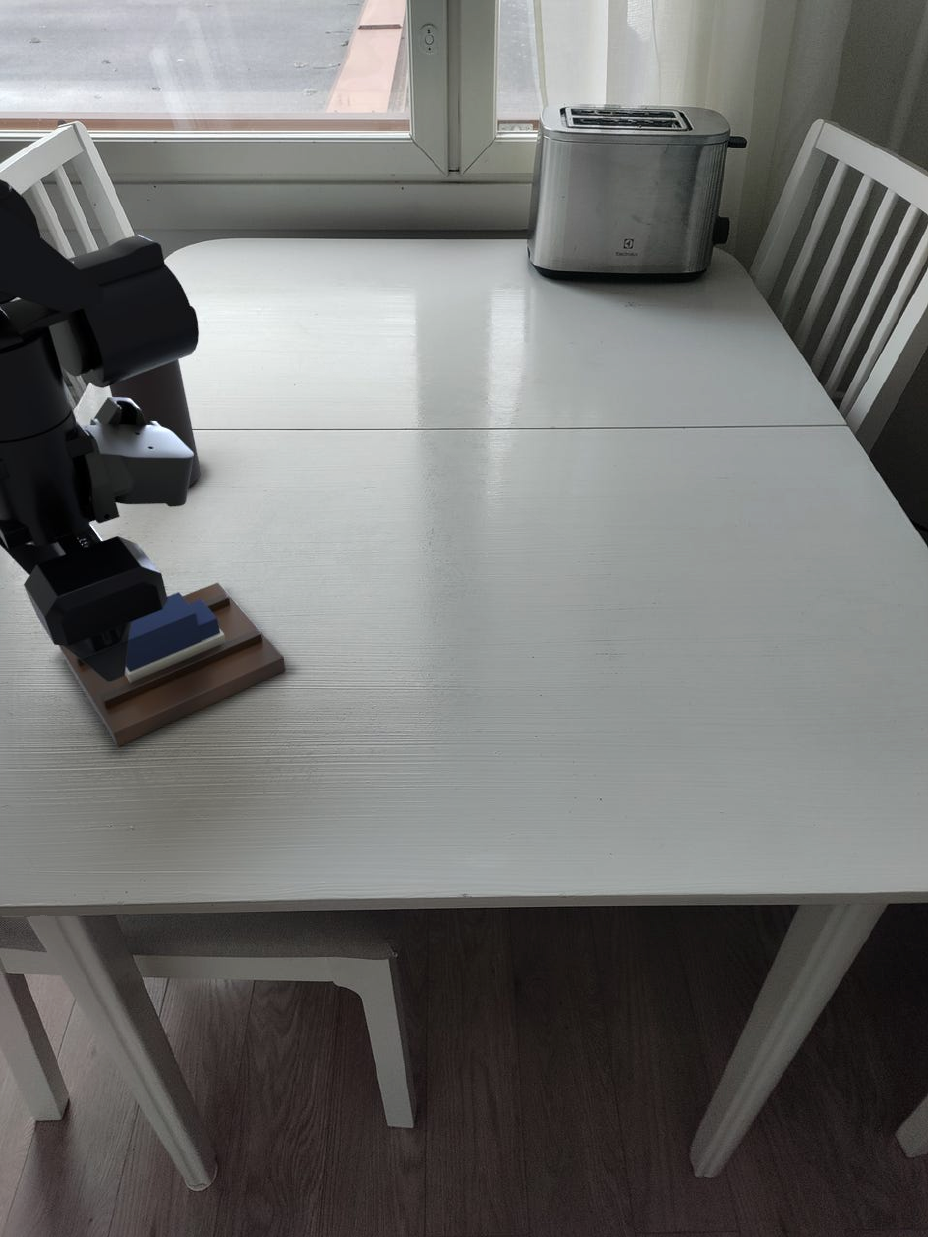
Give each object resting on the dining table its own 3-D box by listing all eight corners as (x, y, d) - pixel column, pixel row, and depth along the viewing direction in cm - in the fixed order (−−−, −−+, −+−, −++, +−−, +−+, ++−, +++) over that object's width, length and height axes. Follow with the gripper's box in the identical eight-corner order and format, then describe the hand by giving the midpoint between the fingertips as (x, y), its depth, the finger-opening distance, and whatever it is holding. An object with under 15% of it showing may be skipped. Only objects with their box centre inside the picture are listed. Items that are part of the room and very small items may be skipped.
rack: (117, 747, 71) (110, 726, 69) (63, 658, 78) (55, 637, 77) (286, 670, 77) (282, 649, 76) (221, 595, 85) (216, 574, 83)
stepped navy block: (131, 684, 74) (119, 645, 71) (113, 658, 76) (101, 620, 73) (226, 643, 77) (218, 605, 75) (207, 620, 80) (198, 582, 77)
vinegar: (205, 459, 102) (168, 272, 89) (196, 494, 97) (156, 301, 84) (140, 461, 102) (94, 274, 89) (128, 496, 96) (77, 303, 83)
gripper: (233, 443, 48) (272, 667, 59) (101, 320, 60) (152, 525, 70) (8, 516, 43) (93, 748, 54) (-90, 366, 55) (-5, 581, 65)
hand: (88, 637), depth 61 cm, fingers open, 9 cm apart
